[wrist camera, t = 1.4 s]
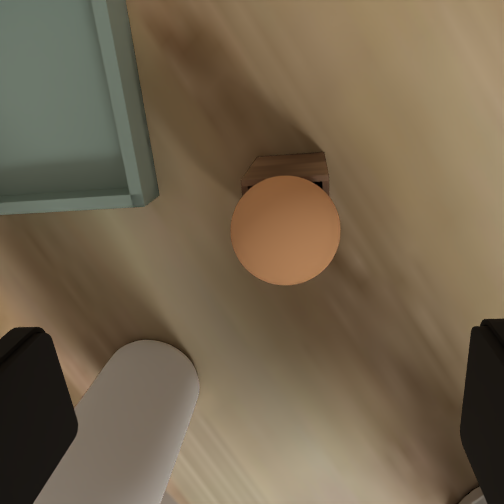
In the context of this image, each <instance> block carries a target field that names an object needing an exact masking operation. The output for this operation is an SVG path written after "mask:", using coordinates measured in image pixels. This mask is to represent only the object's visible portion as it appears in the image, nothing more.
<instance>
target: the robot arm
mask: <svg viewBox="0 0 504 504" xmlns="http://www.w3.org/2000/svg"><path fill="white" fill-rule="evenodd" d="M77 432H78V420H77V417H76V414H75V411H74V407H73V404H72V401H71V398H70V395H69V391H68V388H67V385H66V382H65V379H64V376H63V372H62V369H61V366H60V363H59V360H58V356H57V353H56V350H55V347H54V344H53V341H52V338H51V336H50V335H49V334H47V333H45V331H44V330H43V329H42V328H40V327H18V328H13V329H12V330H10V331H9V332H8V333H7V334H5V335H4V336H3V337H2V338H1V339H0V504H33V503H34V501H35V500H36V498H37V497H38V495H39V494H40V492H41V490H42V489H43V487H44V486H45V484H46V483H47V481H48V480H49V478H50V476H51V475H52V473H53V472H54V470H55V469H56V467H57V466H58V464H59V462H60V461H61V459H62V458H63V456H64V455H65V453H66V451H67V450H68V448H69V447H70V445H71V444H72V442H73V441H74V439H75V437H76V435H77ZM460 435H461V441H462V445H463V448H464V450H465V452H466V455H467V457H468V460H469V462H470V464H471V467H472V469H473V471H474V474H475V476H476V478H477V481H478V483H479V486H480V487H478V488H476V489H474V490H473V491H472V492H470V493H469V494H468V495H467V496H465V497H464V498H463V499H462V500H461V502H460V503H459V504H504V319H484V320H482V322H481V324H480V326H474V327H473V328H472V330H471V337H470V345H469V354H468V363H467V372H466V380H465V389H464V398H463V407H462V416H461V424H460Z"/></svg>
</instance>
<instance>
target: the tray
mask: <svg viewBox="0 0 504 504" xmlns="http://www.w3.org/2000/svg"><path fill="white" fill-rule="evenodd" d="M158 196H159V190H158V184H157V179H156V173H155V167H154V161H153V156H152V150H151V144H150V138H149V133H148V127H147V121H146V115H145V110H144V104H143V98H142V92H141V87H140V81H139V75H138V69H137V64H136V58H135V52H134V46H133V41H132V35H131V29H130V23H129V18H128V12H127V6H126V0H0V215H9V214H26V213H43V212H60V211H78V210H95V209H112V208H129V207H145V206H146V205H147V204H149V203H150V202H151V201H153V200H154V199H155V198H157V197H158Z"/></svg>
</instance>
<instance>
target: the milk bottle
mask: <svg viewBox="0 0 504 504" xmlns="http://www.w3.org/2000/svg"><path fill="white" fill-rule="evenodd" d="M199 389H200V384H199V378H198V375H197V372H196V369H195V367H194V366H193V364H192V362H191V361H190V360H189V359H188V357H187V356H186V355H185V354H183V353H182V352H181V351H180V350H179V349H177V348H175V347H173V346H172V345H169V344H167V343H164V342H161V341H156V340H139V341H135V342H132V343H129V344H127V345H125V346H123V347H121V348H120V349H118V350H117V351H116V352H115V353H114V355H113V356H112V357H111V358H110V360H109V361H108V362H107V364H106V365H105V366H104V368H103V369H102V370H101V372H100V373H99V375H98V376H97V377H96V379H95V380H94V381H93V383H92V384H91V386H90V387H89V388H88V390H87V391H86V393H85V394H84V395H83V397H82V398H81V400H80V401H79V402H78V404H77V405H76V407H75V408H74V411H75V414H76V417H77V420H78V432H77V435H76V437H75V439H74V441H73V442H72V444H71V445H70V447H69V448H68V450H67V451H66V453H65V455H64V456H63V458H62V459H61V461H60V462H59V464H58V466H57V467H56V469H55V470H54V472H53V473H52V475H51V476H50V478H49V480H48V481H47V483H46V484H45V486H44V487H43V489H42V490H41V492H40V494H39V495H38V497H37V498H36V500H35V501H34V503H33V504H160V503H161V500H162V497H163V495H164V492H165V489H166V487H167V484H168V481H169V478H170V476H171V473H172V470H173V467H174V465H175V462H176V459H177V456H178V453H179V451H180V448H181V445H182V442H183V439H184V436H185V434H186V431H187V428H188V425H189V422H190V419H191V417H192V414H193V411H194V408H195V405H196V402H197V399H198V395H199Z"/></svg>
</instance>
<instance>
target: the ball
mask: <svg viewBox="0 0 504 504" xmlns="http://www.w3.org/2000/svg"><path fill="white" fill-rule="evenodd" d="M340 232H341V227H340V219H339V215H338V212H337V210H336V207H335V205H334V203H333V202H332V200H331V199H330V197H329V196H328V195H327V193H326V192H325V191H324V190H323V189H321V188H320V187H319V186H317V185H316V184H314V183H312V182H311V181H308V180H306V179H304V178H300V177H296V176H275V177H271V178H268V179H265V180H263V181H261V182H259V183H257V184H255V185H254V186H253V187H251V188H250V189H249V190H248V191H247V192H246V193H245V194H244V195H243V196H242V198H241V199H240V200H239V202H238V204H237V206H236V208H235V210H234V213H233V216H232V220H231V241H232V245H233V248H234V251H235V253H236V255H237V257H238V259H239V261H240V262H241V264H242V265H243V266H244V267H245V268H246V269H247V270H248V271H249V272H250V273H251V274H253V275H254V276H255V277H257V278H259V279H261V280H263V281H265V282H268V283H272V284H276V285H295V284H300V283H303V282H306V281H308V280H310V279H312V278H314V277H315V276H317V275H318V274H319V273H321V272H322V271H323V270H324V269H325V268H326V267H327V266H328V265H329V263H330V262H331V260H332V259H333V257H334V255H335V253H336V251H337V248H338V245H339V241H340Z"/></svg>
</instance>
